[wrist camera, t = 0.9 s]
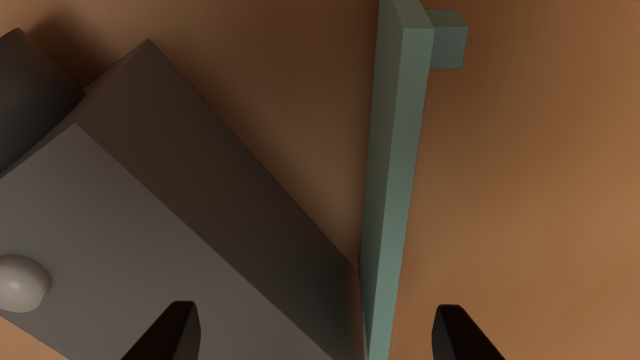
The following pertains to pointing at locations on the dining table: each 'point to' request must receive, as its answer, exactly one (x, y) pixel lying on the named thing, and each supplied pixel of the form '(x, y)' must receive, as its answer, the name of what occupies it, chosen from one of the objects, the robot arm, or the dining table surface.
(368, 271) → the grey-green bar
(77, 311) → the large grey box
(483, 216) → the dining table surface
